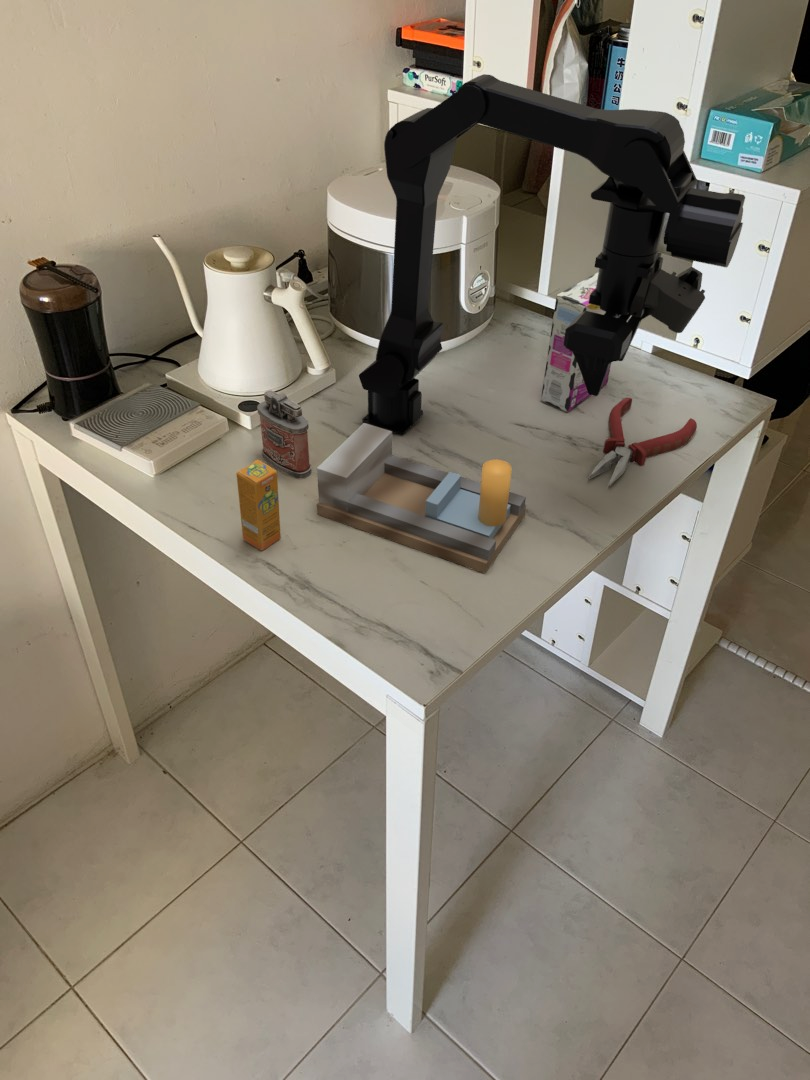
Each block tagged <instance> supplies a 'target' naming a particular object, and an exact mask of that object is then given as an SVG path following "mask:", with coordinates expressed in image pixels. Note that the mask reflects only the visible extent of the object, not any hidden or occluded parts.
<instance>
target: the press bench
mask: <svg viewBox="0 0 810 1080" xmlns="http://www.w3.org/2000/svg"><path fill="white" fill-rule="evenodd" d="M448 473H449V472H448V471H445V470H441V469H438V468H436V467H432V466H429V465H425V464H423V463H419V462H416V461H412V460H409V459H407V458H403V457H401V456H396V455H393V432H392V431H389V430H386V429H383V428H379V427H376V426H373V425H369V424H366V423H362V424H361V425H360V426H358V428H356V429H355V431H354V432H353V433H352V434H350V435H349V437H347V438H346V439H345V440H344V441H343V442H342V443H341V444H340V445H339V446H338V447H337V448H336V449H335V450H334V451H333V452H332V453H331V454H330V455H329V456H328V457H327V458H326V459H325V460H323V462H321V463H320V465H318V466H317V468H316V476H317V492H318V502H317V503H316V512H317V513H316V514H317V516H318V515H319V516H321V517H323V518H324V517H325V518H327V519H330V520H333V521H335V522H338V523H341V524H344V525H347V526H349V527H353V528H355V529H358V530H360V531H363V532H367V533H370V534H372V535H375V536H377V537H381V538H383V539H387V540H389V541H391V542H395V543H398V544H401V545H403V546H405V547H409V548H411V549H414V550H418V551H420V552H423V553H426V554H428V555H431V556H434V557H438V558H440V559H443V560H445V561H449V562H452V563H454V564H458V565H460V566H462V567H465V568H469V569H472V570H475V571H477V572H480V573H483V574H486V573H488V570H489V569H490V567H491V566H492V564H493V563H494V561H495V560H496V558H497V557H498V555H499V553H501V551H502V549H503V548H504V546H505V545H506V543H507V542H508V540H509V539H510V538H511V535H512V534H513V533H514V531H515V530H516V529H517V527H518V525H519V524H520V522H522V519H523V518H524V516H525V515H526V510H527V504H526V499H527V497H526V496H524V495H521V494H518V493H515V492H511V491H509V498H508V504H509V505H511V507H510V515H509V516H508V517H507V519H506V521H505V522H504V523H503V525H502V526H501V528H500V529H499V530H498V532H497V533H496V535H495V536H494V538H493V539H491V538H488V537H485V536H482V535H479V534H476V533H473V532H470V531H467V530H464V529H461V528H458V527H455V526H452V525H449V524H446V523H443V522H440V521H437V520H434V519H432V518H429V517H426V516H425V506H426V500H427V499H428V497H429V496H430V495H431V494H432V493H433V491H434V490H435V489H436V488H437V487H438V485H439V484H440V483H441V482H442V481H443V479H444V478H445V477H446V476H447V475H448ZM460 489H462V490H465V491H469V492H472V493H475V494H478V495H480V491H481V482H480V481H476V480H473V479H471V478H467V477H463V476H461V486H460Z"/></svg>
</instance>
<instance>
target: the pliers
mask: <svg viewBox="0 0 810 1080" xmlns="http://www.w3.org/2000/svg"><path fill="white" fill-rule="evenodd" d="M632 403H633V398H631V397H624V398H622V399H621V400H620V401H619V402H618V403H617V404H616V405H614V407H612V408H611V410H610V412H609V414H608V428H609V435H610V437H609V438H606V439H605V441H604V443H603V444H604V445H603V451H602V452H603V454H605V456H603V457H602V458H601V460H600V461H599V463H598V464H597V465H596V467H595V468H594V469H593V471H592V472H591V473H590V474H589V475H588V477H587V481H589V480H591V479H593V478H595V477H597V476H599V475H601V474H603V473H605V472H606V471H608V470H609V469H611V466H612V464H615V465H616V466H615V468H614V471H613V474H612V475H611V477H610V480H609V483H608V485H607V487H608V488H609V487H611V485H613V484H614V483H615V482H616V481H618V479H619V478H620V477H621V476H622V475H624V474H625V472H626V469H627V466H628V464H629V463H631V464H632V463H635V464H637V465H638V466H639V467H642V466H643V467H644V466H645V464H646V461H647V460H646V459H647V458H649V457H654V456H657V455H662V454H664V453H667V452H671V451H674V450H678V449H680V448H681V447H684V446H686V445H687V444H688V443H689V441H690V440H691V438H692V437H693V436H694V434H695V433H696V432H697V429H698V423H697V421H696V420H695V419H693V418H689V419H688V420H687V421H686V423H685V425H684V426H683V427H682V428H680V429H679V430H676V431H675V432H672V433H668V434H664V435H661V436H658V437H654V438H650V439H645V440H642V441H639V442H634V443H631V444H629V445H628V446H627V447H626V439H625V435H624V430H623V429H624V428H623V424H622V418H623V416H624V415H625V414H626V413H627V412H628V411H629V410H630V409H631V407H632Z"/></svg>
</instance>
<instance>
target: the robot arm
mask: <svg viewBox="0 0 810 1080" xmlns="http://www.w3.org/2000/svg"><path fill="white" fill-rule="evenodd" d="M477 125H481V126H485V127H489V128H492V129H495V130H498V131H501V132H505V133H508V134H511V135H514V136H517V137H521V138H524V139H527V140H531V141H533V142H536V143H540V144H543V145H546V146H551V147H553V148H557V149H559V150H564V151H566V152H570V153H573V154H576V155H577V156H580V157H582V158H584V159H586V160H587V161H589V163H590V164H591V165H593V166H595V168H596V169H598V170H599V171H600V172H601V173H603V174H604V175H607V176H608V177H607V179H606V180H605V181H604V182H601V184H599V185H598V186H597V187H596V188H595V189H594V190H592V192H591V193H590V197H591V199H592V200H595V201H599V202H600V201H601V202H606V203H609V207H608V213H607V220H606V226H605V231H604V238H603V244H602V249H601V252H600V253H598V255H597V256H596V257H595V262H594V268H597V269H598V272H599V273H598V279H597V285H596V288H595V289H594V291H593V292H592V293H591V294H590V297H589V304H594V305H598V306H600V309H601V310H603V311H606V313H605V314H604V315H602V314H598V313H594V312H589V311H585V312H583V313H581V314H580V315H578V316H577V317H576V318H575V319H574V320H573V321H572V323H571V324H570V325H569V326H568V327H567V328H566V331H565V338H564V346H565V347H566V348H567V349H569V350H570V351H572V352H573V354H574V357H575V359H576V361H577V363H578V366H579V369H580V371H581V374H582V377H583V380H584V383H585V385H586V388H587V391H588V394H590V395H591V396H593V397H598V396H599V394H600V392H601V389H602V388H603V387H602V385H603V382H604V380H605V377H606V375H607V372H608V370H609V367H610V364H611V365H612V363H614V362H622V361H624V360H625V356H626V355H627V353H628V350H629V349H630V347H631V345H632V341H633V340H634V337H635V336H636V334H637V331H638V329H639V328H640V327H639V326H640V324H641V322H642V320H645V318H647V317H649V316H651V317H652V318H654V319H656V320H657V321H659V322H660V323H662V324H663V325H665V326H666V327H667V328H668V330H670V331H672V332H673V333H675V334H681V333H683V332H684V330H685V329H686V327H687V326H688V325H689V323H690V322H691V320H692V318H693V317H694V316H695V315H696V314H697V311H698V310H699V309H700V307H701V306H702V305H703V304H702V303H704V301H705V300H706V297H705V292H706V290H705V289H701V288H702V282H703V272H702V271H700V270H699V269H696V268H695V267H693V266H690V267H689V268H687V269H685V270H683V271H681V272H679V273H678V274H677V273H676V272H675V271H672V273H670V272H667V271H665V270H664V269H662V267H663V261H664V257H662V254H663V253H662V252H659V248H660V242H661V238H662V234H663V228H664V224H665V221H666V220H665V219H666V215H667V214H668V218H667V222H666V226H665V230H664V234H663V244H664V245H666V247H665V249H666V250H665V252H667V253H670V255H671V257H673V258H678V259H682V260H687V261H688V260H689V261H692V262H697V263H702V264H708V265H712V266H717V267H721V268H728V267H729V265H730V263H731V261H732V258H733V257H734V253H735V252H736V248H737V245H738V243H739V240H740V235H741V232H742V228H743V225H744V222H742V220H743V216H744V215H743V214H744V203H745V201H746V200H745V199H746V196H745V195H744V194H741V193H735V192H726V193H725V192H718V191H713V190H712V191H711V190H705V189H699V188H695V187H696V186H697V184H698V179H697V177H696V175H695V173H694V171H693V168H692V166H691V163H690V161H689V159H688V157H687V155H686V152H685V151H684V150H685V149H684V148H685V143H686V140H685V132H684V129H683V127H682V126H681V124H680V121H679V119H678V118H676V116H674V115H672V114H670V113H669V112H665V111H656V110H645V109H634V108H630V109H629V108H626V109H602V108H601V109H600V108H596V107H592V106H588V105H585V104H582V103H577V102H575V101H572V100H568V99H566V98H565V99H564V98H561V97H559V96H555V95H550V94H547V93H545V92H542V91H541V92H540V91H537V90H533V89H530V88H528V87H524V86H522V85H521V86H520V85H518V84H514V83H510V82H507V81H503V80H500V79H498V78H496V77H495V76H494V75H491V74H481V75H478V76H476V77H474V78H472V79H470V80H469V81H466V82H464V83H462V85H461V86H460V87H458V89H457V91H455V92H454V93H453V94H452V95H450V96H449V97H448V98H446V99H445V100H443V101H442V102H440V103H438V104H437V105H435V107H427V108H424V109H422V110H420V111H417V112H416V113H415V112H414V114H412V115H410V116H408V117H406V118H403V119H402V120H400V121H397V122H396V123H395V124H394V125H393V126H391V128H390V129H388V131H387V132H386V134H385V137H384V141H383V149H384V151H383V152H384V159H385V160H384V161H385V168H386V178H387V179H388V181H389V184H390V186H391V188H392V191H393V193H394V195H395V201H396V206H395V207H396V208H395V226H394V228H395V229H394V243H393V244H394V248H393V264H392V266H393V268H392V288H391V307H390V313H389V316H388V318H387V321H386V323H385V325H384V328H383V330H382V332H381V334H380V337H379V340H378V341H379V342H378V345H377V350H376V354H375V360H374V361H373V362H372V363H371V364H369V365H368V366H367V367H366V368H365V369H364V370H362V371H361V372H360V373H359V374H358V377H359V381H360V384H361V386H362V389H363V390H365V391H367V414H365V416H364V417H363V418H362V421H361V423H362V424H363V423H366V424H369V425H373V426H376V427H379V428H383V429H386V430H389V431H392V434H397V435H399V436H403V435H405V434H406V433H407V432H408V431H409V430H410V429H411V428H412V426H414V425H415V424H416V423H417V421H419V420H420V419H421V417H422V416H423V415H424V410H423V409H422V397H423V396H422V391H421V390H420V389H419V387H420V384H419V383H420V380H419V378H416V377H417V376H418V375H419V374H420V373H421V372H422V371H423V370H424V369H425V368H426V367H427V366H428V365H430V364H431V362H433V360H434V359H435V358H436V356H437V355H438V354H439V353H440V352H441V351H442V350H443V346H442V343H441V341H442V339H441V337H442V333H443V329H444V323H443V322H439V321H434V319H433V317H432V315H431V313H430V309H429V308H430V295H431V283H432V267H433V259H434V258H433V257H434V244H435V231H436V221H437V205H438V199H439V195H440V193H441V191H442V187H443V186H444V182H445V181H446V179H447V176H448V174H449V171H450V170H451V166H452V162H453V158H454V155H455V154H454V153H455V149H456V145H457V141H458V139H459V138H460V137H461V136H463V135H464V134H466V133H468V132H469V131H470V130H472V129H473V128H474V127H475V126H477ZM610 368H611V367H610ZM601 387H602V388H601Z"/></svg>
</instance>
